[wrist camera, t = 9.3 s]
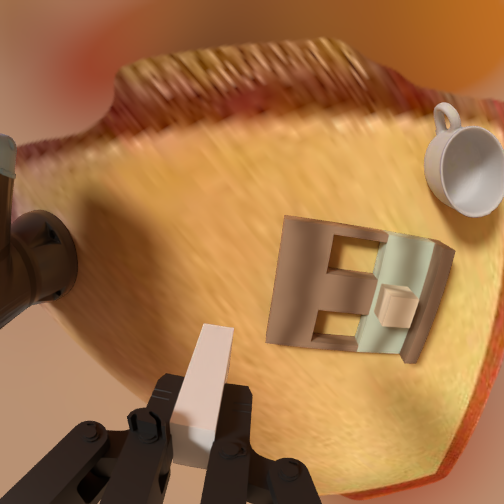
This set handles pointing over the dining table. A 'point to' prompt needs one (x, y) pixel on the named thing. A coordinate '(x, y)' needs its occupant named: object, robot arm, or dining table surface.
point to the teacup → (464, 165)
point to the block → (395, 306)
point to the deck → (353, 288)
